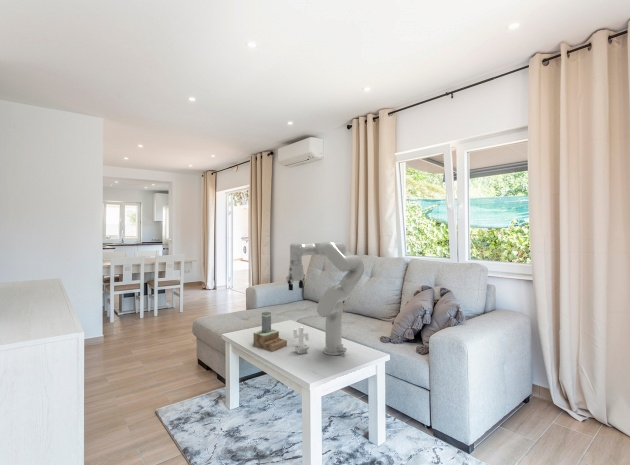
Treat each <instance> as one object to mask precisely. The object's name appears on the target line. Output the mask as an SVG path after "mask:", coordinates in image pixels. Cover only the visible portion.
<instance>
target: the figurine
mask: <svg viewBox="0 0 630 465" xmlns="http://www.w3.org/2000/svg"><path fill="white" fill-rule="evenodd" d="M297 331H298V332H297ZM304 337H305V341H306V342H308V341H309V332H308V331H304V326H302V325H299V326H298V330H297V328H293V338H294V339H298V344H296V343H295V344H293V345H292V347H293V348H294V350H295V352H296V353H297V354H298V355H303V354H307V352H308V350H309V348H310V346H308V345H307V344H306V343H304Z"/></svg>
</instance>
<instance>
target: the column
mask: <svg viewBox="0 0 630 465" xmlns="http://www.w3.org/2000/svg"><path fill="white" fill-rule="evenodd" d="M271 329H272V312H269V311H264V312H261V330H262V332H263V333H269V332H271Z"/></svg>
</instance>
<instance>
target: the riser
mask: <svg viewBox="0 0 630 465" xmlns="http://www.w3.org/2000/svg"><path fill="white" fill-rule="evenodd" d="M279 334H280V331H279V330H276V329H272V328H271V332H269V333H263V332H262V329H261V330H258V331H254V332H253V346H255V347H258V348H261V349H263V350H267V351H270V352H276V351H278V350H280V349H282V348H285V347H287V346H288V342H287V340H286V339H284V338H280V335H279Z"/></svg>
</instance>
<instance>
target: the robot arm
mask: <svg viewBox="0 0 630 465" xmlns="http://www.w3.org/2000/svg"><path fill="white" fill-rule="evenodd" d="M346 252H347V247H346V245H345V243H343V242H341V241H321V242H309V243H308V242H307V243H296V242H295V243H291V244H290V245H289V268H288V275H287V276H286V277H285V279H286V283H287V284H288V291H294V284H293V283H294V282H298V289H303V288H304V282H305V278H306V274H305V273H304V265H303V263H302V260H303V259H302V258H303V257H304V256H313V255H315V256H316V255H319V256H321V257H326V258H327V259H328V260H329V261H330V262H331V264H332V265H333V266H334V268H336V269H337V270H338V271H340V272H345V274H344V276H343V277H342V278H341V280H340V281H339V283H338V284H336V285H335V284H334V285H331V286H330V287H328V288H327V289H326V290H325V291H324V293H323V295H322V297H320V299H319V301H318V303H317V305H316V312H317V315H319V316H320V317H321V318H325V327H324V328H325V333H324V334H325V338H324V339H325V343H324V344H325V346H324V347H323V348H322V353H324V354H325V355H329V356H339V355H343V354H345V353H346V352H347V350H348V349H347V347H344V344H343V343H342V342H343V341H342V340H343V339H342V338H343V337H342V327H343V311H344V303H343V302H344V301H346V300H347V299H348V298H349V297H350V296H351V294H352V293H353V291H354V289H355V288H356V286H357V284H358V283H359V281H360V280H361V278H362V277H363V275H364V272H365V263H364V260H363V259H362V258H361V257H360V256H358V255H355V254H350V255H344V254H346ZM302 256H303V257H302ZM346 272H347V273H346Z"/></svg>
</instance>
